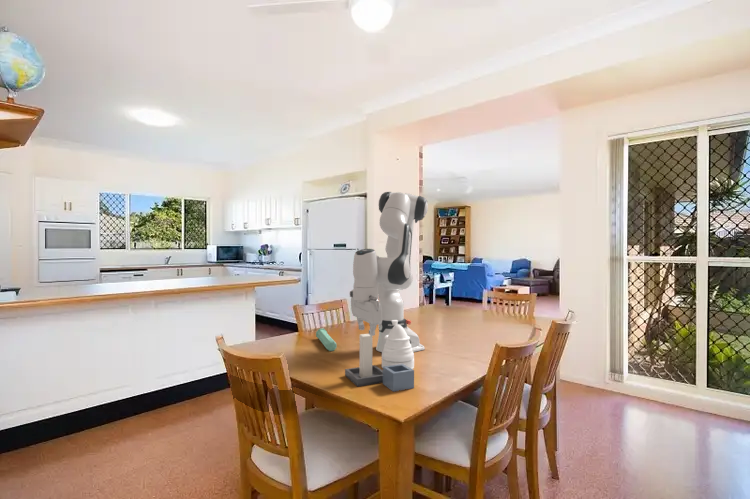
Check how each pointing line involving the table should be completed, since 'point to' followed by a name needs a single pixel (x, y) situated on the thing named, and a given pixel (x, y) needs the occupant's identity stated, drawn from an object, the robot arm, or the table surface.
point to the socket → (398, 377)
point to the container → (326, 339)
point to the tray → (359, 381)
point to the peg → (365, 356)
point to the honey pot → (397, 348)
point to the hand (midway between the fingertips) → (366, 332)
